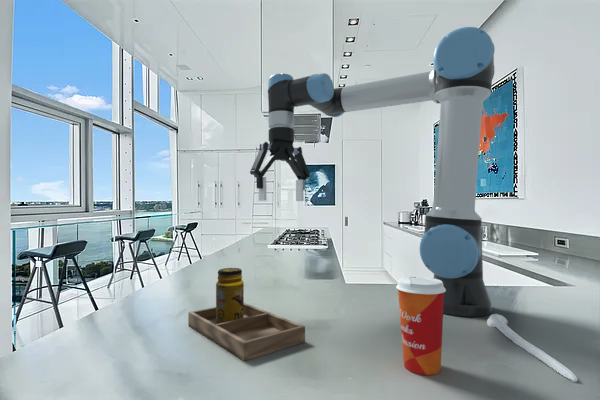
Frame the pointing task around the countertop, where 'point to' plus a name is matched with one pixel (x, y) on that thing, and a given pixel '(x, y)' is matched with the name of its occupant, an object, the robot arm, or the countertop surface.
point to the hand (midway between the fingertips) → (281, 201)
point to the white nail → (529, 346)
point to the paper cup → (421, 323)
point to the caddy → (248, 332)
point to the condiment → (229, 295)
